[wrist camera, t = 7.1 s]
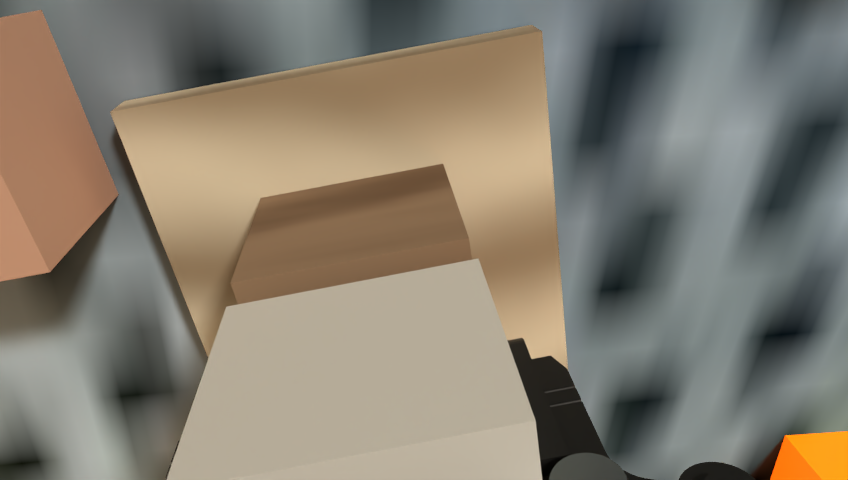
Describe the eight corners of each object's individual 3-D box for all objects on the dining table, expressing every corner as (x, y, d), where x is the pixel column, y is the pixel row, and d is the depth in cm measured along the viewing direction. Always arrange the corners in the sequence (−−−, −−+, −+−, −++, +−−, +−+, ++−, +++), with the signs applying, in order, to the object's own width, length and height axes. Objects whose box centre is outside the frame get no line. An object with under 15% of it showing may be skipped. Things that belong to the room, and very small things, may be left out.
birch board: (124, 101, 18) (110, 111, 17) (531, 24, 19) (541, 31, 18) (244, 413, 24) (239, 436, 23) (558, 353, 24) (568, 373, 23)
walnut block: (260, 197, 19) (230, 283, 14) (442, 163, 19) (468, 238, 14) (306, 346, 21) (292, 458, 17) (467, 316, 21) (495, 419, 17)
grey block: (226, 306, 14) (161, 492, 9) (478, 258, 14) (535, 420, 9) (292, 486, 16) (267, 701, 12) (505, 445, 16) (561, 644, 12)
